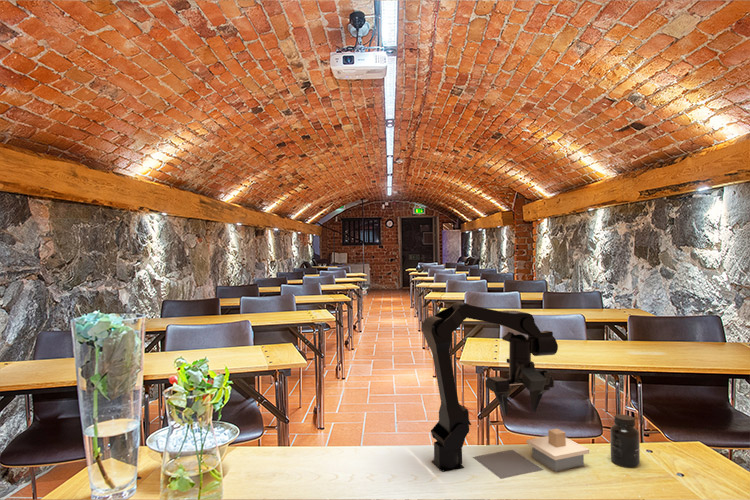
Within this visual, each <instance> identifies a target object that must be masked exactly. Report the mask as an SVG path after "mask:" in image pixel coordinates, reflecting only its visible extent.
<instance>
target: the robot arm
mask: <svg viewBox="0 0 750 500" xmlns="http://www.w3.org/2000/svg"><path fill="white" fill-rule="evenodd" d="M466 319H470V320H474V321H475V320H476V321H480V322H485V323H491V324H495V325H499V326H500V327H502V328H505V329H507V330H510V331H512V332H510V331H507V333H506V334H505V335H504V336H503V337H502V338H501V339H502V341H505V342H509V343H508V344H509V351H508V352H509V355H508V356H509V358H506V363H507V364H509V365H508V367H509V371H508V373H506V378H508V379H506V378H504V377H501V376H497V375H496V376H488V377H487V378H486V380H485V388H487V389H489V391H491V392H493V393H494V395H495V397H496V399H497V402H498V404H499V406H500V408H501V410H502V413H503V415H504V416H508V412H509V411H508V408H509V407H508V406H509V405H508V403H509V401H508V400H509V396H510V394H511V392H510V391H509V390H510V388H511V387H519V386H524V387H525V389H526V390H528V391H529V398H530V408H531V411H532V412H533V413H536V411H537V410H538V406H539V403H540V402H541V399H542V397H543V395H544V394H545V393H546V392H547V391H550V390H551V388H555V380H554V378H553V376H551V372H550V371H549V370H547V369H542V370H536V368H535V367H536V366H535V362H534V361H532V356H534V357H541V356H542V357H543V356H554V355H556V354H557V352H558V350H559V345H558V343H557V340H556V338H555V337H554V332H553V331H550V330H543V331H541V330H540V328H539V327H538V326H537V324H536V321H535V318H534V316H533V314H531V313H530V312H525V311H519V310H496V309H491V308H485V307H483V306H482V307H481V306H476V305H471V304H469V303H467V302H463V301H456V302H454V303H453V304H451V305H450V306H448V307H447V308H444V309H443V310H441V311H438V312H437V313H435V314H434V315H430V316H427V317H426V318H425V319H424V320H423V322H422V324H421V331H422V333H423V336H424V339H425V341H426V344H427V345H428V347H429V348H430V351H431V353H432V358H433V359H432V361H433V365H434V370H435V374H436V381H437V386H438V387H437V388H438V393H439V396H440V397H439V398H440V407H439V410H438V422H436V424H435V425H434V426H433V427H432V428H431V429H430V434H431V436H432V438H433V439H434V440H435V441H434V442H433V457H434V458H433V459H434V460H431V463H432V464H433V465H434V466H435V467H436V468H437V469H438V470H439V471H441V472H442V473H445V472H451V471H456V470H461V469H464V468H465V467H464V466H463V446H464V443H465V440H466V437H467V435H468V434H469V433H470V426H471V425H472V423H471V421H470V416H469V415H470V412H469V409H468V408H466V407H465V406H463V405H462V404H460V402H459V398H458V397H459V396H458V392H457V385H456V379H455V375H454V370H453V369H454V368H453V364H452V357H451V347H452V342H453V332H455V331H456V330H457V329H458V328H459V327H460V326H461V325H462V324H463V322H464V321H465V320H466ZM513 332H516V333H518V334H515V333H513ZM525 335H526V336H525Z"/></svg>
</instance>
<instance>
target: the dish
mask: <svg viewBox="0 0 750 500" xmlns="http://www.w3.org/2000/svg"><path fill="white" fill-rule="evenodd" d="M531 447H532V446H531ZM531 453H532V454H531V455H532V458H533V459H534V460H536V461H537V462H539V463H540V464H542V465H544V466H546V467H547V468H548V469H550V470H552V471H554V472H555V473H558V472H562V471H567V470H571V469H576V468H582V467H584V466H585V463H584V461H585V459H584V456H585V454H584V455H579V456H574V457H569V458H564V459H559V460H554V459H552V458H550V457H549V456H547V455H545V454H543V453H542V452H540V451H538V450H537V449H535V448H533V447H532V452H531Z"/></svg>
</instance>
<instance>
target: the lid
mask: <svg viewBox="0 0 750 500" xmlns="http://www.w3.org/2000/svg"><path fill="white" fill-rule="evenodd" d="M547 431H548V433H547V434H548V435H546V436H540V437H535V438H530V439H526V444H527V445H529V446H531V447H533V448H535V449H537V450H538V451H540V452H542V453H543V454H545V455H547V456H549V457H550V458H552V459H554V460H559V459H564V458H569V457H574V456H579V455H584V456H585V455H588V454H590V449H589V448H587V447H585V446H583V445H582V444H579V443H577V442H575V441H573V440H572V439H569V438H568V437H566V433H567V432H565V431H563V430H561V429H560V428H554V429H548V430H547Z"/></svg>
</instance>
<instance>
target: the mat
mask: <svg viewBox="0 0 750 500" xmlns="http://www.w3.org/2000/svg"><path fill="white" fill-rule="evenodd" d="M472 458H473V459H474V460H475V461H477V462H478V463H480V465H482V466H484V467H485V468H486V469H487V470H488V471H490V472H491V473H493V474H494V475H495V476H496V477H498V478H499V479H506V478H511V477H512V478H513V477H516V476H520V475H526V474H531V473H536V472H541V471H544V469H543V468H542V467H541V466H539V465H537V464H536V463H534V462H533V461H531V460H530V459H528V458H526V457H525V456H523V455H522V454H520V453H519V452H517V451H516V450H514V449H508V450H503V451H497V452H493V453H486V454H481V455H477V456H472Z"/></svg>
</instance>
